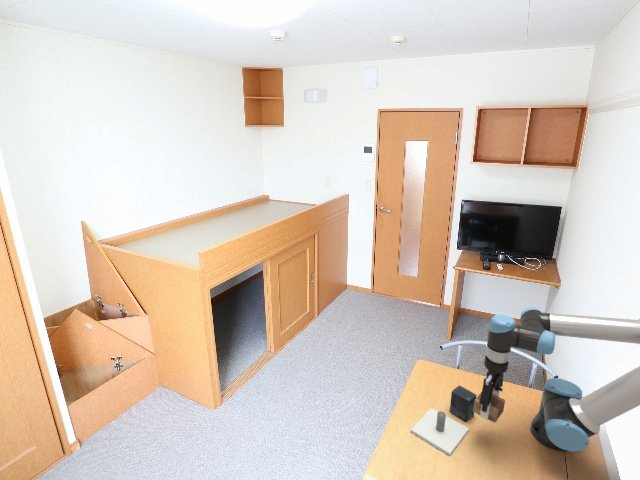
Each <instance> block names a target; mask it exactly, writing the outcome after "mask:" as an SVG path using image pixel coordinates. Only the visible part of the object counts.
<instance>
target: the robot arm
mask: <svg viewBox="0 0 640 480" xmlns="http://www.w3.org/2000/svg"><path fill="white" fill-rule="evenodd" d="M519 322H520V325H518V324H516V320H515V318H513V317H511V316H508V315H506V314H495V315H493V316H492V317H491V320H490V324H489V326H488V327H489V328H488V334H487V335H488V336H487V342H486V344H485V346H484V347H485V348H486V351H485V357H484V362H483V363H484V364H483V365H484V367H485V368H486V370H487V372H486V378H483V383H482V389H481V392H482V393H481V392H480V393H481V398H480V400H479V401H480V404H481V411H480V415H479V417H481V418H483V419H484V420H487V421H489V420H488V416H489V410H490V400H491V396H492V394H494V395H496V396H498V397H500V392H503V390H504V389H503V383H504V375H505V373H506V372H507V371H508V368H509V361H510V358H511V357H510V356H511V350H512V348H514V349H520V350H525V351H528V352H532V353H536V354H542V355H543V354H544V355H552V354H553V353H554V351H555V346H556V336H557V337H559V336H561V337H569V338H579V339H580V338H581V339H587V340H598V341H609V342H618V343H626V344H627V343H629V344H636V345H637V344H638V345H640V318H638V319H630V318H627V319H626V318H616V317H615V318H614V317H606V316H605V317H601V316H588V315H575V314H562V313H553V312H552V313H550V312H548V313H547V312H542V311H541V310H540V309H538V308H537V307H533V306H532V307H526V308H525V309H524V310H522V311H521V313H520V318H519ZM544 382H545V383H544V385H543V391H542V396H541V399H540V400H541V401H540V405H539V409H538V412H537V413H536V415H535V416H534V417H533V418H532V419H531V422H530V426H529V427H530V428H529V429H530V432H531V434H532V435H533V437H534V439H536V440H537V442H539V443H540V444H542V445H543V446H546V447H548V448H549V449H552V450H555V451H560V452H572V453H574V452H575V453H577V452H583V451H584V450H586V449H587V448H588V446H589V443H590V439H589V438H592V437H593V436H595V435H597V434H599V433H600V431H601V425H604V424H605V423H608V422H610V421H612V420H614V419H616V418H617V417H620V416H622V415H623V414H626V413H627V412H629V411H631V410H633V409H636V408H637V407H640V365H639V366H638V367H635V368H633V369H632V370H630V371H628V372H627V373H625V374H623V375H621V376H619V377H617V378H616V379H614V380H611V381H610V382H608V383H606V384H605V385H603V386H601V387H599V388H598V389H595V390H593V391H592V392H591V393H589V394H587V395H585V396H584V397H583V390H582V389H581V388H580V387H579V386H578V385H577V384H575V383H573V382H572V381H569V380H567V379H563V378H558V377H552V378H548V379H546V381H544Z"/></svg>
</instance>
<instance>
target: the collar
mask: <svg viewBox="0 0 640 480" xmlns="http://www.w3.org/2000/svg"><path fill="white" fill-rule="evenodd" d="M481 393H482V391H481V392H480V393H479V394H478V395H477V396H476V399H475V400H474V407H473V412H474V414H476V415H478V416H480V411H481V404H480V401H479V400H480V398H481ZM505 404H506V399H504V398H502V397H500V396H499V397H498V396H496V395H494V394H492V396H491V400H490V410H489V416H488V420H487V421H490V422H492V423H493V424H496V423H497V421H498V419H499V418H500V417H501V415H502V413H503V412H504V410H505V409H504V408H505Z"/></svg>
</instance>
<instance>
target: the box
mask: <svg viewBox="0 0 640 480" xmlns="http://www.w3.org/2000/svg"><path fill="white" fill-rule="evenodd" d="M477 397H478V395H477V394H476V393H474V392H472V391H470V390H468V389H467V388H465V387H464V386H462V385H457V386H456V387H455V388H454V389H452V390H451V395H450V405H449V413H451V414H453V415H454V416H455V417H457V418H459V419H460V420H462V421H464V422H465V423H468V422H469V421H470V420H471V419H472V418H474V416H475V412H473V407H474V400H475V399H476V398H477Z"/></svg>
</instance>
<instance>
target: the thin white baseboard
mask: <svg viewBox="0 0 640 480" xmlns="http://www.w3.org/2000/svg"><path fill="white" fill-rule="evenodd" d="M469 431H470V428H469V427H467V426H465V425H464V424H462V423H460V422H458V421H456V420H454V419H452V418H451V417H449V416H447V414H446V413H445V412H444V411H441V410H440V411H438V410H437V409H434V408H432V407H431V408H429V410H428V411H427V412H426V413H425V414H424V415H423V416H422V417H421V418H420V419H419V420H418V421H417V422H416V424H415V425H413V426H412V428H411V429H410V433H411V434H413V435H414V436H416V437H417V438H419V439H421V440H423V441H424V442H425V443H428V444H429V445H430V446H433V447H435V448H436V449H438V450H439V451H441V452H442V453H444V454H446V455H447V456H449V457H450V456H451V455H452V454H453V452H454V451H456V449H457V447H458V445H460V444H461V442H462V441H463V440H464V438H465V437H466V435H467V434H468V432H469Z"/></svg>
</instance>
